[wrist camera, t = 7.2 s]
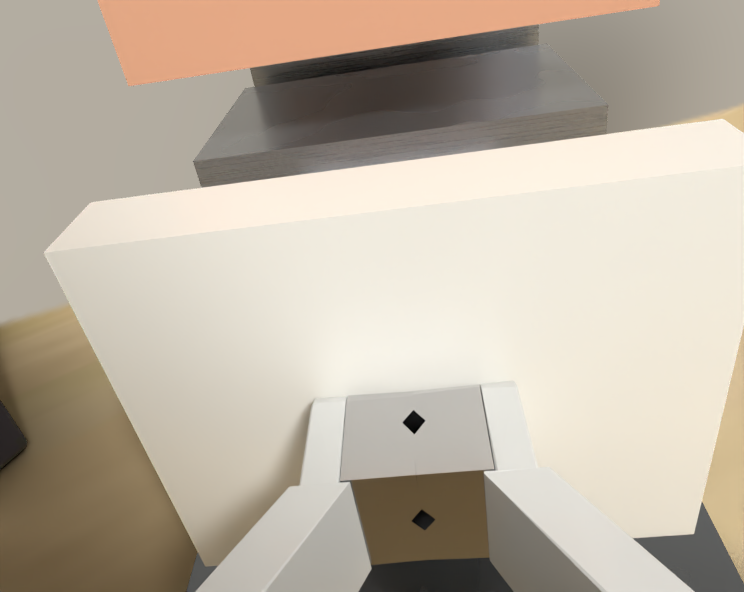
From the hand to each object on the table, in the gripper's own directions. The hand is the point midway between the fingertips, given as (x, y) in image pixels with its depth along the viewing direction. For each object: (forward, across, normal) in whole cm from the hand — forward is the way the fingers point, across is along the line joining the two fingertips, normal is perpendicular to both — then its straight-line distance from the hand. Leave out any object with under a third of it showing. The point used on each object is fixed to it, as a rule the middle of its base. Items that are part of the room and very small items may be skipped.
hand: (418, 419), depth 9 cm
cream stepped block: (+4, 0, +4) cm, 5 cm away
